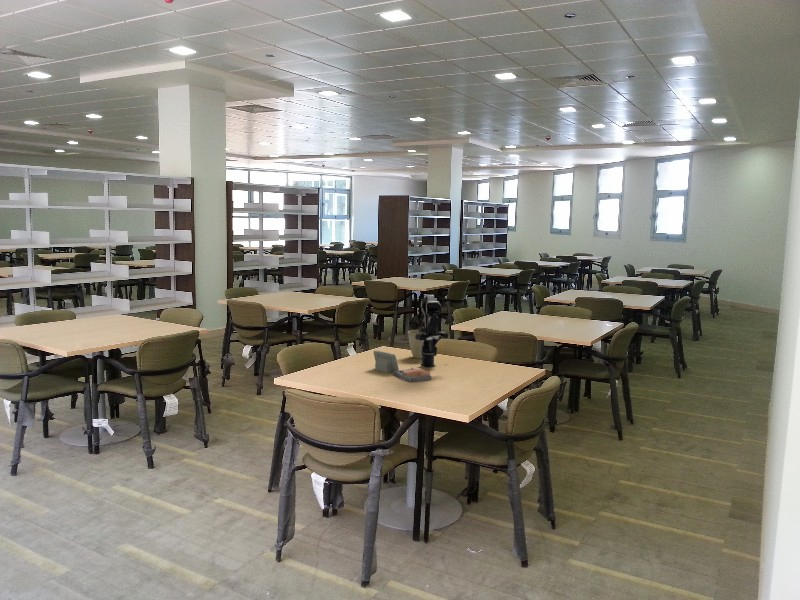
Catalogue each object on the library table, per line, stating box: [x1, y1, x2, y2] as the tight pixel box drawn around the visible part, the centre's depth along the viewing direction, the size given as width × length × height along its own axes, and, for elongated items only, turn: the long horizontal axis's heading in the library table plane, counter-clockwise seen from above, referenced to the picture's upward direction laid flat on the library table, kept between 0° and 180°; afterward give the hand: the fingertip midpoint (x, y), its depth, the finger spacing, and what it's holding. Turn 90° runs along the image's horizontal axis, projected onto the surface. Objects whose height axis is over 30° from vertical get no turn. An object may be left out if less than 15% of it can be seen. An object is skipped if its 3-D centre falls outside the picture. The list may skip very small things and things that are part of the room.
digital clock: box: [373, 350, 400, 374], centre depth 356 cm, size 16×9×11 cm, turn 37°
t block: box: [402, 366, 431, 377], centre depth 343 cm, size 12×13×4 cm
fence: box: [392, 368, 432, 383], centre depth 342 cm, size 13×18×2 cm
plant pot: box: [407, 329, 424, 359], centre depth 393 cm, size 15×15×16 cm
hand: (431, 351), depth 355 cm, fingers closed
